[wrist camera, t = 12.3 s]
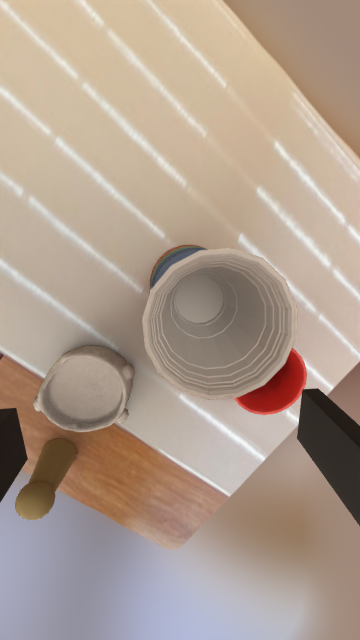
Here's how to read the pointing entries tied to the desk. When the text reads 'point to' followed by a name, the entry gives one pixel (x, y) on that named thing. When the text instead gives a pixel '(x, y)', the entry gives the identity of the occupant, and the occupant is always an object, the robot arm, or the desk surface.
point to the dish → (86, 389)
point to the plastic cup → (219, 323)
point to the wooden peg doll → (45, 479)
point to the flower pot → (277, 388)
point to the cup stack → (171, 260)
